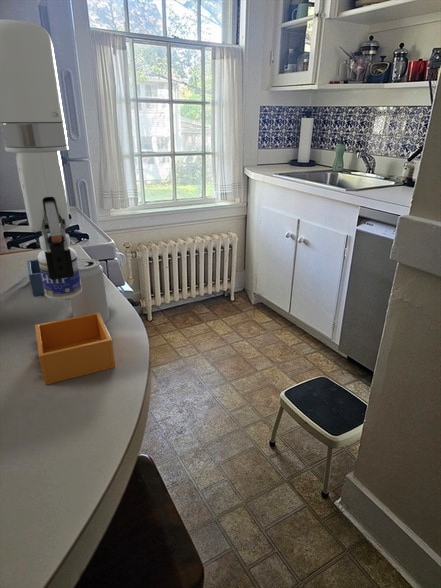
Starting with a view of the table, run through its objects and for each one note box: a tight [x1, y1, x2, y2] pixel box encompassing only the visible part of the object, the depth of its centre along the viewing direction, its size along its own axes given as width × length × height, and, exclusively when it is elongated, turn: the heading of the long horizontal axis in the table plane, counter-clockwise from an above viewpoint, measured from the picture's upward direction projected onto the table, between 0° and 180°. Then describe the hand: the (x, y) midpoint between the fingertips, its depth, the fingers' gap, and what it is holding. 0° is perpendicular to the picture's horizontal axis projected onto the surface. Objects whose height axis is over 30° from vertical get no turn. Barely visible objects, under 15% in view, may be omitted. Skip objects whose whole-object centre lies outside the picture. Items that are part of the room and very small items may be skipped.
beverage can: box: [69, 258, 110, 324], centre depth 72 cm, size 6×6×12 cm
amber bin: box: [34, 312, 116, 386], centre depth 62 cm, size 10×10×5 cm
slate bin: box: [26, 258, 46, 297], centre depth 90 cm, size 10×10×5 cm
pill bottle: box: [37, 232, 82, 301], centre depth 57 cm, size 5×5×9 cm
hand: (59, 269), depth 58 cm, fingers closed on pill bottle, 5 cm apart
